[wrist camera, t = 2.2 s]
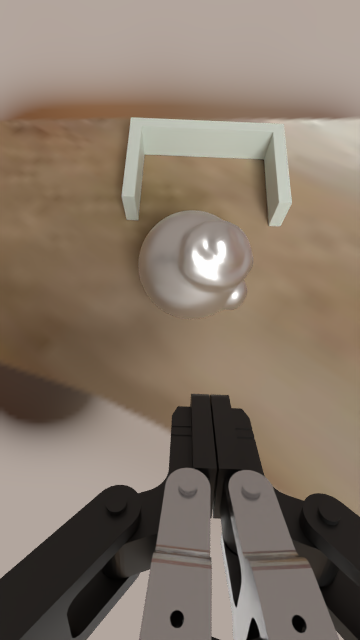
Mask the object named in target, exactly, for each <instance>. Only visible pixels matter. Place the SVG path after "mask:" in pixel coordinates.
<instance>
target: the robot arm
mask: <svg viewBox="0 0 360 640" xmlns="http://www.w3.org/2000/svg"><path fill="white" fill-rule="evenodd" d="M169 462H170V463H169V472H168V475H167V477H166V479H165V480H164V481H163V482H162V484H160V485H159V486H158V487H156V488H154V489H152V490H149V491H145V492H141V493H137V492H136V491H135V490H134V489H132V488H131V487H128V486H125V485H115V486H111V487H109V488H107V489H105V490H104V491H102V492H101V493H100V494H99V495H98V496H96V497H95V498H94V499H93V500H92V501H91V502H89V503H88V504H87V505H86V506H85V507H84V508H82V509H81V510H80V511H79V512H78V513H77V514H75V515H74V516H73V517H72V518H71V519H69V520H68V521H67V522H66V523H65V524H64V525H63V526H61V527H60V528H59V529H58V530H57V531H55V532H54V533H53V534H52V535H51V536H50V537H48V539H46V540H45V541H44V542H43V543H41V544H40V545H39V546H38V547H37V548H36V549H34V550H33V551H32V552H31V553H30V554H29V555H27V556H26V557H25V558H24V559H23V560H22V561H20V562H19V563H18V564H17V565H16V566H15V567H14V568H12V569H11V570H10V571H9V572H8V573H6V574H5V575H4V576H3V577H2V578H1V579H0V640H86V639H87V638H88V637H89V636H90V635H91V633H92V632H93V631H94V630H95V628H96V627H97V626H98V625H99V624H100V622H101V621H102V620H103V619H104V618H105V616H106V615H107V614H108V613H109V611H110V610H111V609H112V608H113V607H114V605H115V604H116V603H117V602H118V600H119V599H120V598H121V597H122V596H123V595H124V593H125V592H126V591H127V590H128V588H129V587H130V586H131V585H132V584H133V582H134V581H135V580H136V579H137V577H138V576H139V574H140V572H143V571H146V570H149V569H150V574H149V580H148V587H147V593H146V599H145V606H144V612H143V619H142V625H141V631H140V638H139V640H219V639H216V638H214V637H211V595H212V594H211V593H212V589H211V585H212V582H211V580H212V579H211V578H212V570H211V569H212V566H211V557H210V518H211V516H212V508H213V518H220V519H221V524H222V535H221V548H222V554H223V560H224V566H225V572H226V578H227V584H228V590H229V596H230V603H231V609H232V618H233V640H339V638H338V635H337V633H336V631H337V632H338V633H339V634H340V635H341V637H342V638H343V639H344V640H360V517H359V516H358V515H357V514H355V513H354V512H353V511H351V510H350V509H349V508H348V507H346V506H345V505H344V504H343V503H341V502H340V501H339V500H337V499H335V498H334V497H331V496H329V495H326V494H320V493H317V494H312V495H310V496H308V497H307V498H306V499H305V501H302V500H300V499H297V498H294V497H291V496H288V495H285V494H283V493H281V492H279V491H278V490H276V489H275V488H274V487H273V486H272V485H271V483H270V482H269V480H268V479H267V478H266V477H265V476H264V473H263V470H262V466H261V462H260V458H259V454H258V450H257V446H256V442H255V440H254V434H253V431H252V427H251V423H250V419H249V417H248V416H247V415H246V413H245V412H244V411H243V410H242V409H236V408H231V405H230V399H229V396H228V395H210V397H209V395H207V394H191V404H190V407H180V406H178V407H177V409H176V410H175V412H174V413H173V415H172V427H171V444H170V461H169Z"/></svg>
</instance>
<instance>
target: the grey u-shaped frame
mask: <svg viewBox="0 0 360 640" xmlns="http://www.w3.org/2000/svg"><path fill="white" fill-rule="evenodd" d="M145 154H148V155H172V156H196V157H219V158H243V159H264V165H265V179H266V193H267V207H268V222H269V226H281V224H282V222H283V220H284V218H285V216H286V214H287V212H288V210H289V208H290V206H291V204H292V199H291V190H290V180H289V170H288V160H287V151H286V141H285V131H284V124H273V123H249V122H226V121H202V120H179V119H155V118H132V117H131V123H130V131H129V139H128V148H127V156H126V164H125V172H124V181H123V189H122V200H123V205H124V210H125V214H126V219H127V220H138V218H139V208H140V197H141V187H142V177H143V166H144V156H145Z"/></svg>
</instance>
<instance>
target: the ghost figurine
mask: <svg viewBox="0 0 360 640" xmlns="http://www.w3.org/2000/svg"><path fill="white" fill-rule="evenodd" d="M252 266H253V255H252V250H251V246H250V243H249V240H248V238H247V236H246V235H245V233H244V232H243V231H242V230H241V229H240V228H239V227H238V226H236V225H234V224H232V223H230V222H228V221H224V220H222V219H221V218H219V217H217V216H215V215H213V214H210V213H207V212H203V211H197V210H188V211H181V212H177V213H174V214H172V215H169V216H167V217H166V218H164V219H162V220H161V221H160V222H158V223H157V224H156V225H155V226H154V227H153V228H152V229H151V231H150V232H149V233H148V235H147V236H146V238H145V240H144V242H143V244H142V247H141V250H140V254H139V261H138V269H139V276H140V280H141V283H142V286H143V288H144V290H145V292H146V294H147V295H148V297H149V298H150V299H151V301H152V302H153V303H154V304H155V305H156V306H157V307H159V308H160V309H161V310H163V311H164V312H166V313H168V314H170V315H172V316H175V317H179V318H184V319H200V318H205V317H208V316H211V315H213V314H215V313H217V312H219V311H221V310H233V309H236V308H238V307H239V306H240V305H241V304H242V303H243V301H244V299H245V297H246V295H247V286H246V284H245V281H244V279H245V277H246V276H247V274H248V273H249V271H250V270H251V268H252Z"/></svg>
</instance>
